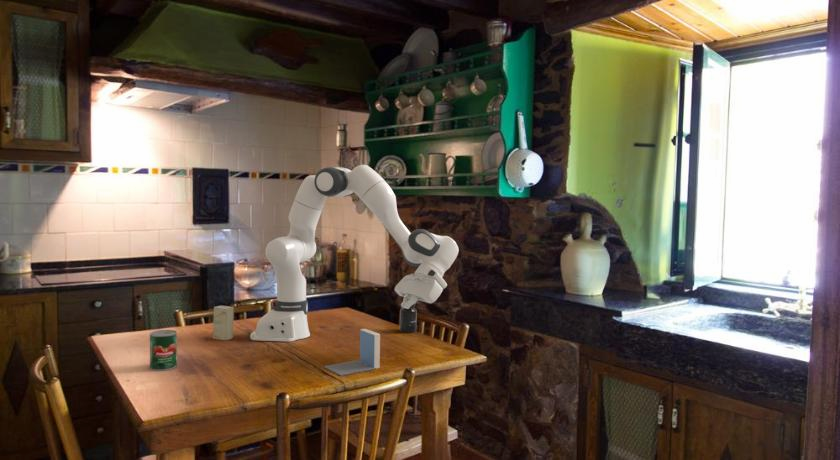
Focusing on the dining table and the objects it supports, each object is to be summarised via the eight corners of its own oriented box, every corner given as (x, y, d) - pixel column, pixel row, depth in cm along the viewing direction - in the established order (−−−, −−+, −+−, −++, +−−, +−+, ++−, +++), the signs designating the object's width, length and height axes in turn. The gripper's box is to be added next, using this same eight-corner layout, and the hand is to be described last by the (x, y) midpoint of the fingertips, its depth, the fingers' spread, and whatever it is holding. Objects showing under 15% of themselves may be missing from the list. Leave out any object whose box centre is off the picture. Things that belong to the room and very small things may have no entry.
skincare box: (212, 339, 226) (212, 307, 225) (220, 336, 230) (220, 305, 229) (226, 340, 223) (226, 308, 223) (234, 338, 227) (234, 306, 227)
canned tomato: (160, 372, 184) (159, 337, 183) (144, 367, 188) (144, 333, 188) (182, 366, 191) (182, 332, 190) (166, 362, 195) (166, 328, 194)
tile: (374, 368, 192) (374, 334, 191) (359, 362, 199) (360, 329, 198) (379, 367, 193) (380, 334, 192) (365, 361, 200) (365, 328, 200)
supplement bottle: (414, 333, 240) (414, 304, 239) (397, 332, 241) (398, 303, 240) (417, 329, 246) (418, 301, 246) (401, 328, 248) (402, 300, 247)
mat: (340, 376, 184) (340, 374, 183) (323, 367, 192) (323, 366, 192) (374, 369, 191) (374, 368, 191) (356, 361, 199) (356, 360, 199)
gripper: (404, 267, 215) (381, 297, 210) (440, 273, 199) (416, 306, 194) (414, 278, 218) (392, 308, 213) (450, 285, 202) (427, 318, 197)
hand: (404, 307), depth 203 cm, fingers closed
